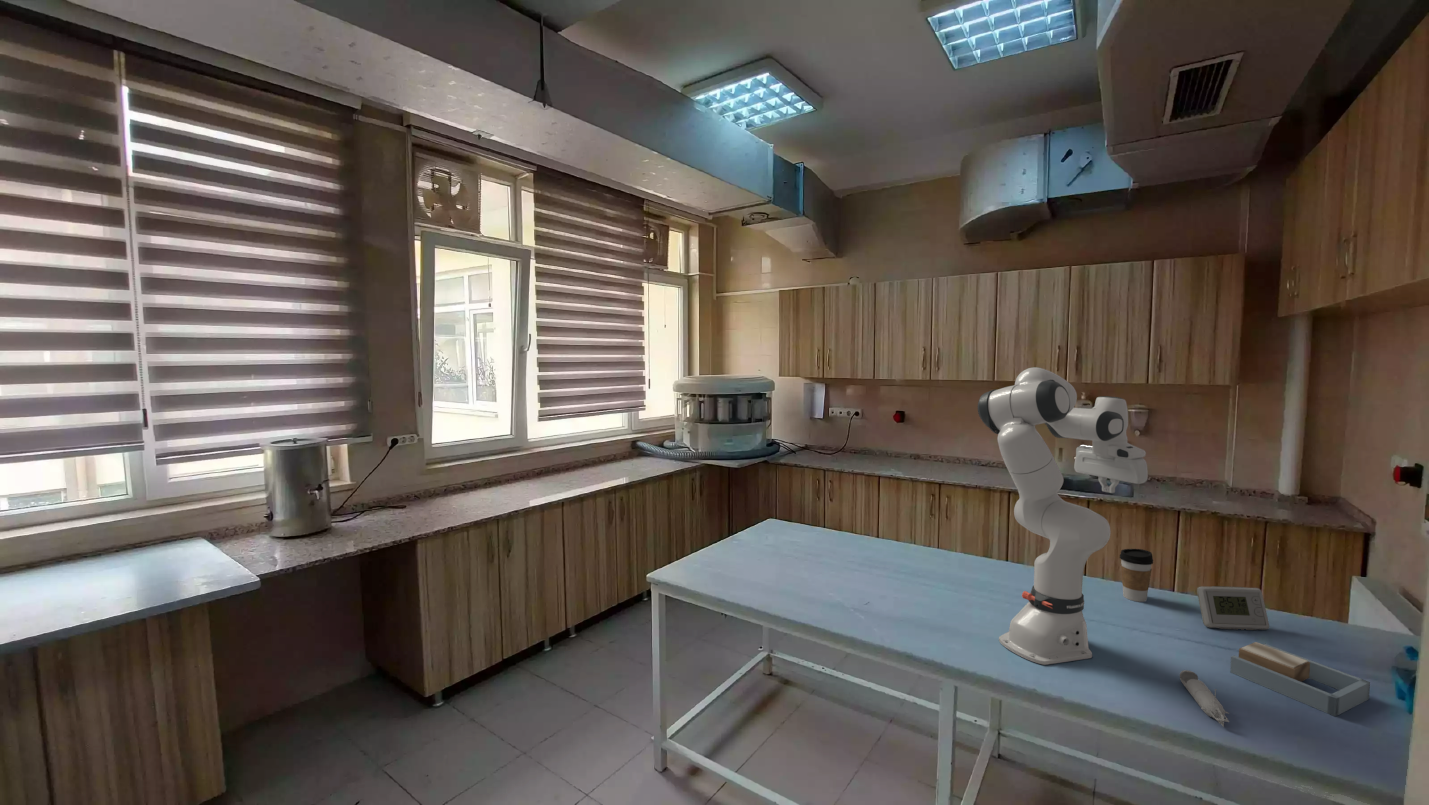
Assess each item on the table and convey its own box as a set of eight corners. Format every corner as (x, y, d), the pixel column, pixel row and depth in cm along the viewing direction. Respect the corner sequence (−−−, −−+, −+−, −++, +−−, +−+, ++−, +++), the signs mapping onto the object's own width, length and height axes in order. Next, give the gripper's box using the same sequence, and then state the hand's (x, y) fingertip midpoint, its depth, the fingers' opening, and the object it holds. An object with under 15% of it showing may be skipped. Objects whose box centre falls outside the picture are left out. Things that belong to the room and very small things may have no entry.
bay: (1335, 716, 117) (1336, 698, 116) (1230, 672, 134) (1231, 656, 133) (1369, 699, 122) (1370, 682, 122) (1264, 658, 139) (1264, 643, 138)
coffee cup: (1157, 604, 169) (1159, 557, 168) (1126, 602, 171) (1128, 555, 170) (1142, 592, 177) (1144, 547, 176) (1113, 591, 179) (1114, 546, 178)
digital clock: (1203, 628, 154) (1204, 592, 153) (1188, 614, 163) (1189, 579, 162) (1277, 637, 149) (1279, 599, 148) (1258, 621, 157) (1260, 585, 156)
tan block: (1293, 690, 126) (1294, 668, 125) (1238, 668, 135) (1239, 647, 135) (1308, 682, 129) (1310, 661, 128) (1253, 661, 138) (1254, 641, 137)
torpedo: (1172, 679, 132) (1173, 653, 131) (1197, 683, 130) (1198, 656, 129) (1209, 728, 115) (1210, 698, 114) (1238, 732, 113) (1239, 702, 113)
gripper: (1070, 444, 179) (1069, 486, 180) (1138, 454, 160) (1136, 500, 161) (1083, 442, 182) (1082, 484, 183) (1151, 452, 163) (1150, 498, 164)
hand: (1108, 492), depth 172 cm, fingers closed
